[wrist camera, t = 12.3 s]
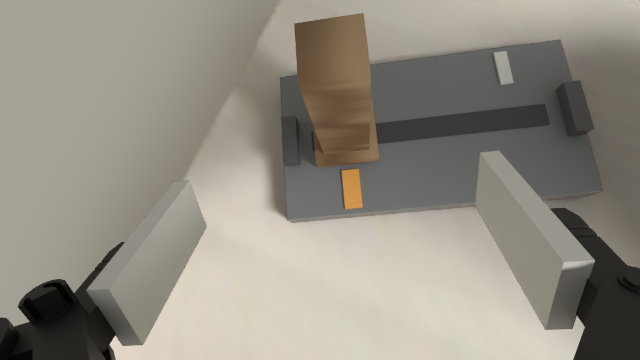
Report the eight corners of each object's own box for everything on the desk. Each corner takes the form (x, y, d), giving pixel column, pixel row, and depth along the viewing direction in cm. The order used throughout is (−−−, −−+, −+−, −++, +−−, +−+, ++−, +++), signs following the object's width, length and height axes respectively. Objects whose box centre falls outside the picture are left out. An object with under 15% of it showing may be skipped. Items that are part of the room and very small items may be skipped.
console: (548, 53, 31) (568, 30, 28) (586, 195, 28) (613, 186, 25) (284, 88, 34) (276, 70, 31) (292, 222, 31) (283, 217, 28)
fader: (372, 105, 30) (375, -1, 18) (378, 161, 29) (387, 86, 17) (313, 112, 30) (280, 14, 19) (317, 167, 29) (285, 99, 17)
